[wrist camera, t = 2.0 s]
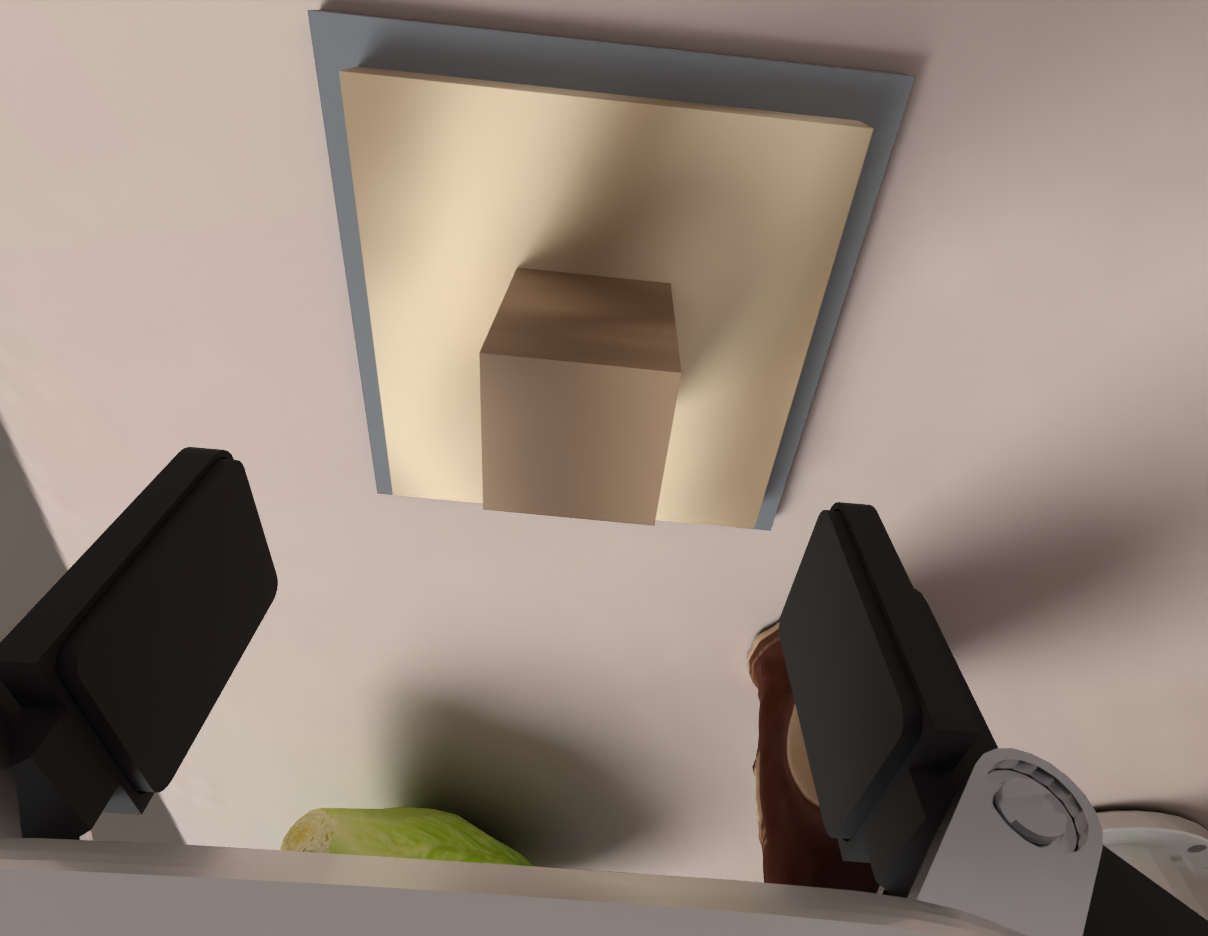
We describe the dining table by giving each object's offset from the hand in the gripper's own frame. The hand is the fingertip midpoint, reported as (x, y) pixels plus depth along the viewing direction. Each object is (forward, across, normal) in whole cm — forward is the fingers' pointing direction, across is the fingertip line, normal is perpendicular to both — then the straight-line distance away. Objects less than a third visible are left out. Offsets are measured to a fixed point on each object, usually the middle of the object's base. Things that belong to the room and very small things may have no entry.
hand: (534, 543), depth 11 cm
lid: (+10, -1, +1) cm, 10 cm away
